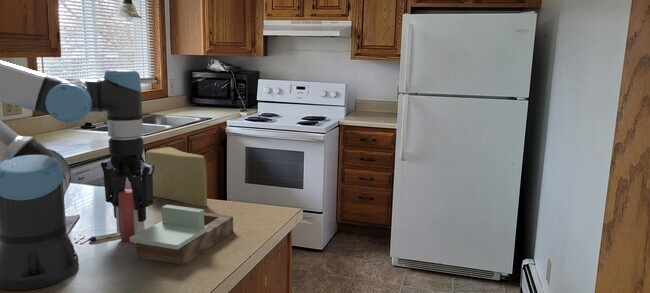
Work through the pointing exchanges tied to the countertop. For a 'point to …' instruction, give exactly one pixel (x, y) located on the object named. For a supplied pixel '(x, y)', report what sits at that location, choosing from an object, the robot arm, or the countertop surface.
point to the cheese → (178, 175)
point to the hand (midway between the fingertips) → (130, 232)
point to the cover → (173, 228)
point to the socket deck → (216, 231)
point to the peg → (126, 214)
